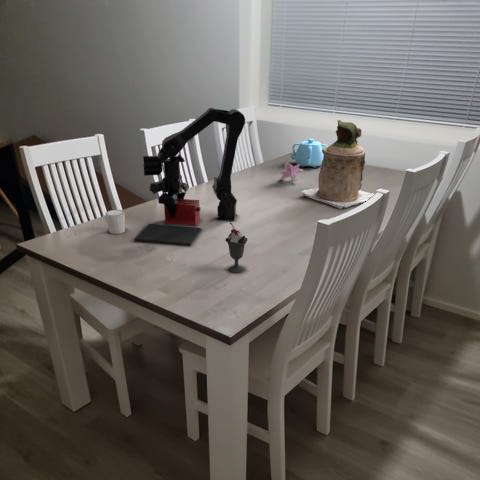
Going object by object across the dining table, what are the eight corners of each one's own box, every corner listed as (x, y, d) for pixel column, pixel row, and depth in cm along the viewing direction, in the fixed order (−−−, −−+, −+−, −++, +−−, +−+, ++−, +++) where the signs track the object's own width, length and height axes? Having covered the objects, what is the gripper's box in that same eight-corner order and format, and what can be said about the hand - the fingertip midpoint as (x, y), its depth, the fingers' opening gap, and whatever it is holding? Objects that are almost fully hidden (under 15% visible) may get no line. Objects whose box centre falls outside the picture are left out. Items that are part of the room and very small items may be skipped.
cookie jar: (342, 210, 197) (352, 128, 180) (298, 196, 213) (304, 119, 196) (377, 198, 211) (390, 121, 194) (334, 186, 226) (342, 113, 209)
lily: (307, 183, 233) (303, 163, 232) (302, 179, 222) (298, 159, 221) (283, 189, 237) (280, 169, 236) (277, 186, 226) (274, 165, 225)
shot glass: (130, 229, 178) (128, 210, 174) (120, 235, 172) (118, 216, 168) (114, 226, 180) (111, 208, 176) (104, 233, 174) (101, 214, 170)
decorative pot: (305, 170, 250) (307, 143, 242) (288, 163, 262) (289, 137, 254) (329, 167, 256) (332, 140, 249) (312, 160, 268) (314, 134, 261)
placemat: (201, 230, 177) (200, 227, 177) (190, 245, 165) (190, 243, 164) (149, 226, 180) (149, 223, 180) (135, 241, 168) (134, 238, 167)
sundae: (224, 265, 152) (224, 220, 144) (245, 264, 152) (246, 219, 144) (226, 274, 146) (225, 228, 138) (247, 273, 147) (248, 227, 139)
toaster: (202, 220, 186) (201, 199, 182) (198, 226, 181) (197, 205, 176) (170, 217, 188) (169, 197, 184) (165, 223, 183) (163, 203, 178)
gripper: (159, 166, 184) (162, 205, 193) (142, 179, 169) (146, 222, 177) (187, 168, 183) (189, 207, 191) (172, 181, 167) (175, 224, 175)
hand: (175, 215), depth 184 cm, fingers closed on toaster, 6 cm apart
